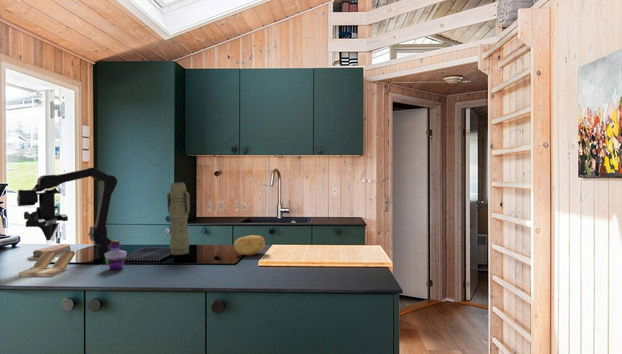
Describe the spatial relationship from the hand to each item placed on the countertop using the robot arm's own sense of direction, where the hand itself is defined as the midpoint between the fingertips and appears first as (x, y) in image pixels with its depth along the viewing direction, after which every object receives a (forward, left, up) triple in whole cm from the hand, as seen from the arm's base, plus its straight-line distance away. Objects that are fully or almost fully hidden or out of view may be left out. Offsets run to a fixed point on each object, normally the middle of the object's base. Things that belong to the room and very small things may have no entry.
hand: (48, 240), depth 178 cm
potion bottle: (-31, +2, -12) cm, 33 cm away
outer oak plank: (0, +2, -9) cm, 9 cm away
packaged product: (+15, -22, -13) cm, 29 cm away
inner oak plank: (-8, +2, -9) cm, 12 cm away
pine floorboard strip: (-4, +11, -12) cm, 16 cm away
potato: (-83, -25, -12) cm, 87 cm away
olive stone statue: (-47, -28, -12) cm, 56 cm away
